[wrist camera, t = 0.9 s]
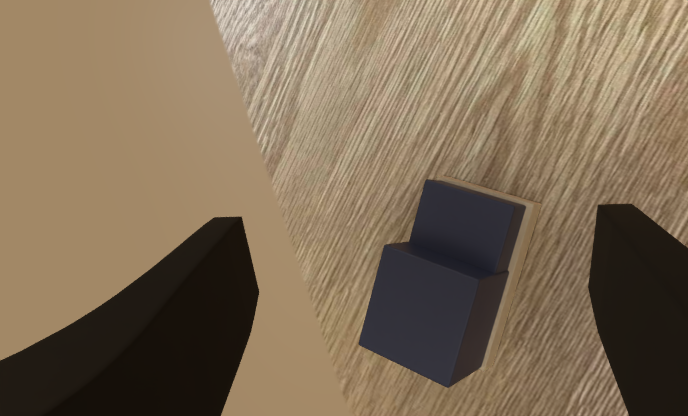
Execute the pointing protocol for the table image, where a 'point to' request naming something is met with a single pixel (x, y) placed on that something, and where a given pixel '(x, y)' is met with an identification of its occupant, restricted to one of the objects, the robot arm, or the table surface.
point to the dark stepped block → (450, 281)
